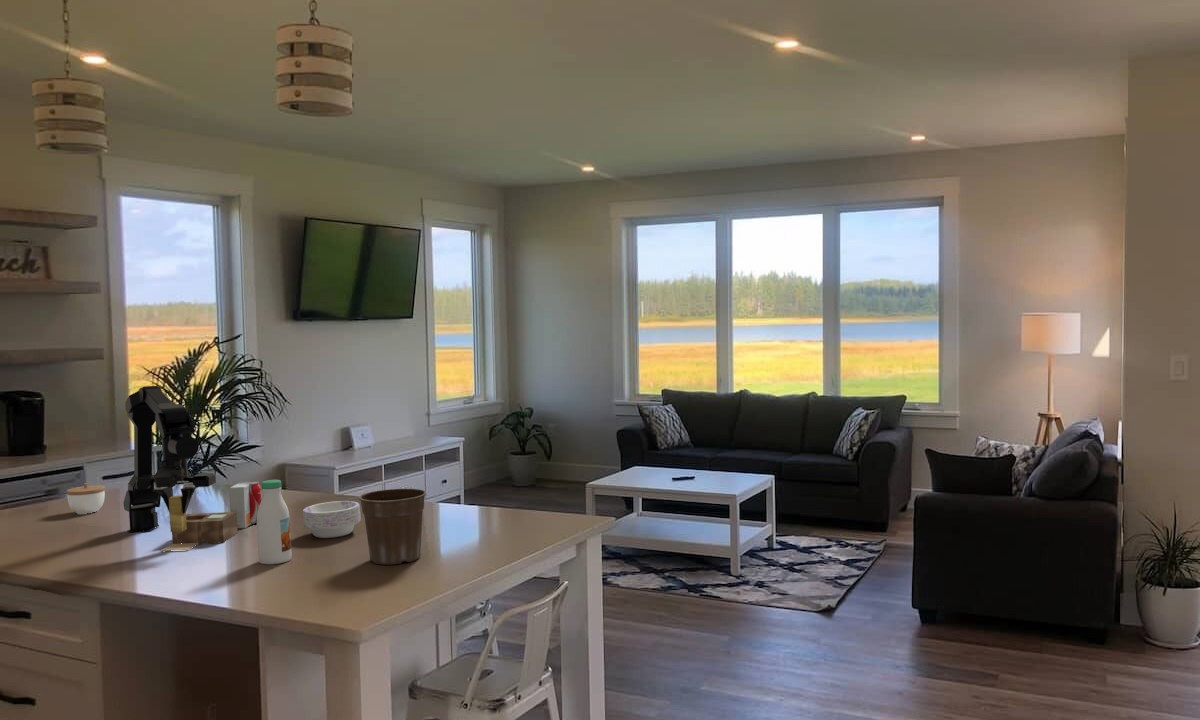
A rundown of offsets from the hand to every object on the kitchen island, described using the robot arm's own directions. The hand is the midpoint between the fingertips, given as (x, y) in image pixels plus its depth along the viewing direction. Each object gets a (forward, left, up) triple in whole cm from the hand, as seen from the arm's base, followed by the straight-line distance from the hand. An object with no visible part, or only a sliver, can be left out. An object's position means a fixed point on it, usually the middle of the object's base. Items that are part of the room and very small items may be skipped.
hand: (177, 513), depth 245 cm
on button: (+7, +9, -6) cm, 13 cm away
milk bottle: (+30, -18, -10) cm, 36 cm away
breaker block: (+3, +9, -9) cm, 14 cm away
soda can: (+10, +27, -10) cm, 31 cm away
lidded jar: (-50, +53, -10) cm, 74 cm away
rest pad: (0, 0, -9) cm, 9 cm away
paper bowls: (+38, +8, -10) cm, 40 cm away
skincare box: (+9, +23, -10) cm, 26 cm away
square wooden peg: (0, 0, -5) cm, 5 cm away
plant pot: (+60, -21, -10) cm, 64 cm away
